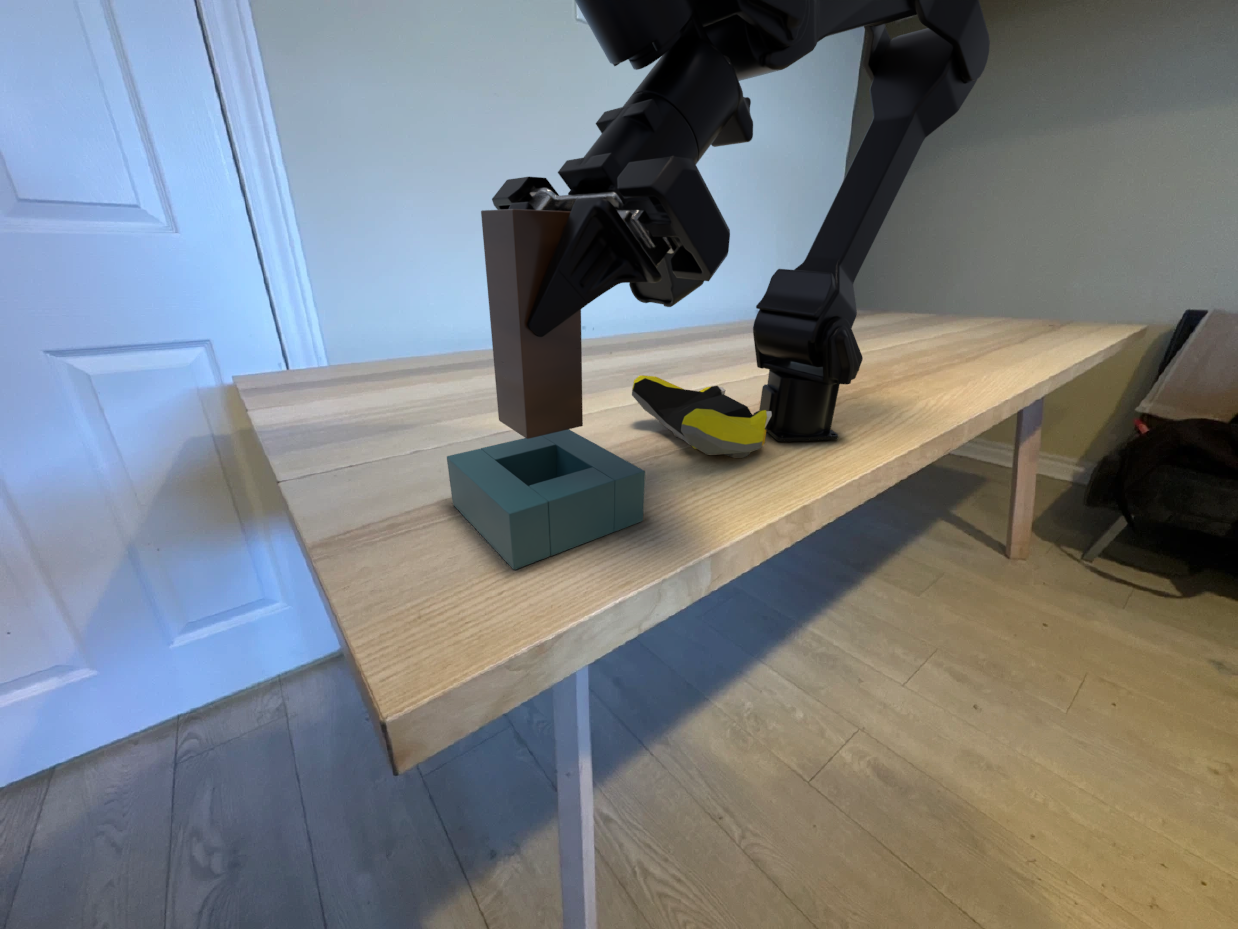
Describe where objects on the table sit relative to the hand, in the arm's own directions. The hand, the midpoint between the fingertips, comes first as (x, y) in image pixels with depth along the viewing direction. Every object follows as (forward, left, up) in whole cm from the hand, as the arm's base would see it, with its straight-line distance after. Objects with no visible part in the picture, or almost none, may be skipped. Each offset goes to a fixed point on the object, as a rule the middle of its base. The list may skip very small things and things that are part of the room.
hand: (516, 326), depth 32 cm
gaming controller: (-16, -14, -14) cm, 25 cm away
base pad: (-1, -1, -13) cm, 14 cm away
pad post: (-1, -1, -7) cm, 7 cm away
